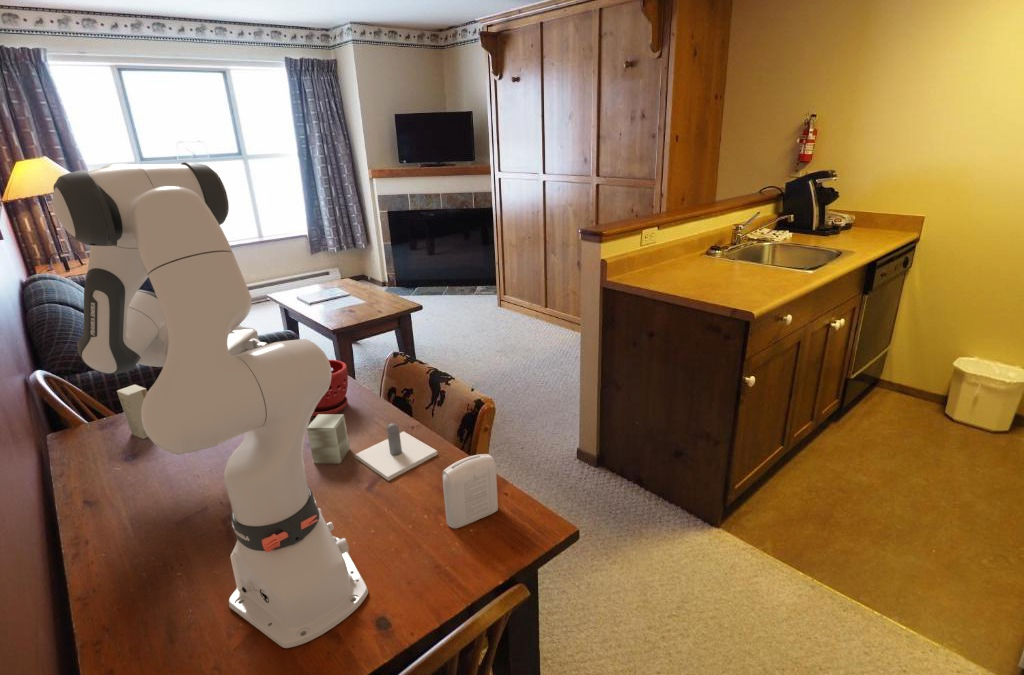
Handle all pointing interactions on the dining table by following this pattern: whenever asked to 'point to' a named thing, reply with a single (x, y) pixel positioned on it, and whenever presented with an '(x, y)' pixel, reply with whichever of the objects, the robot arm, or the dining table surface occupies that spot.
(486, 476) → the photo printer
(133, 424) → the skincare box
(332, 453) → the sage recessed panel box
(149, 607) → the dining table surface
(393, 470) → the post stand
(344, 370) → the plant pot
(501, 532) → the dining table surface
